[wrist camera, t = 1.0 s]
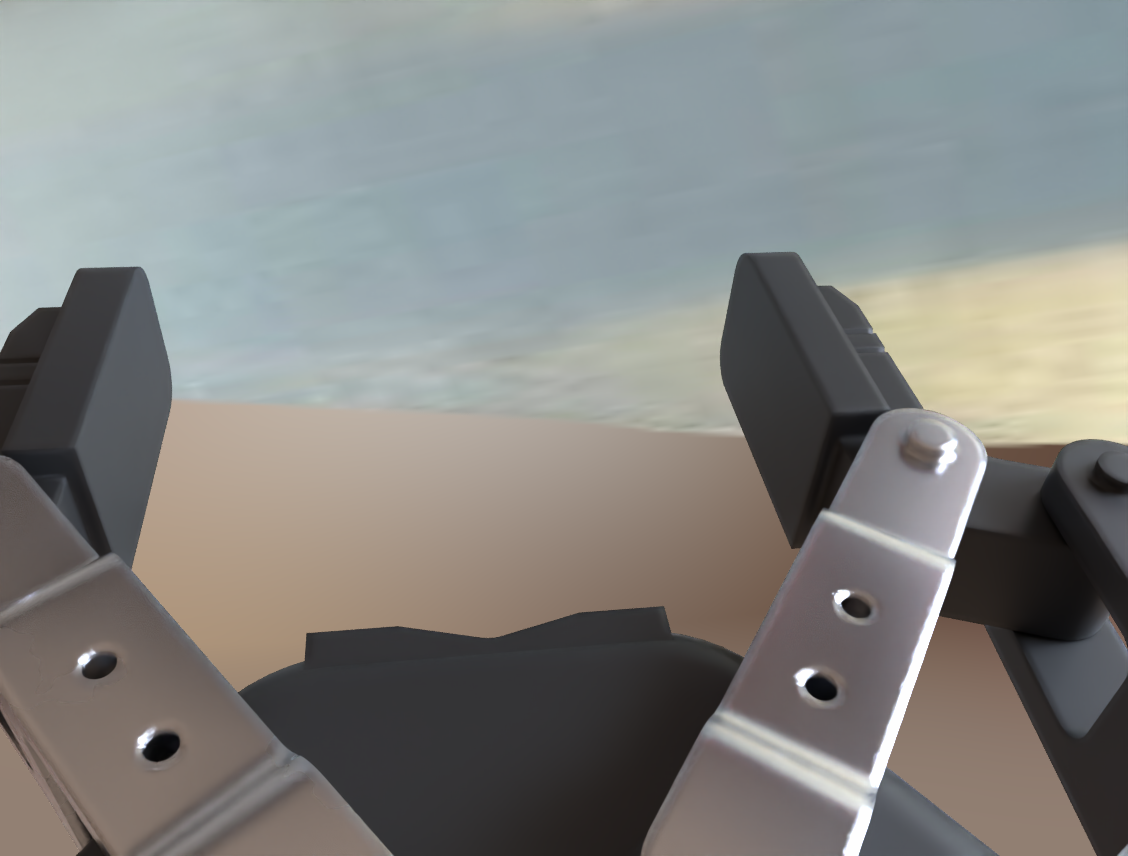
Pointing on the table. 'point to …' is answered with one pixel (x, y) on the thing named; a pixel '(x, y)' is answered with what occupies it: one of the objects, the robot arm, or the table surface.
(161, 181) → the table surface
